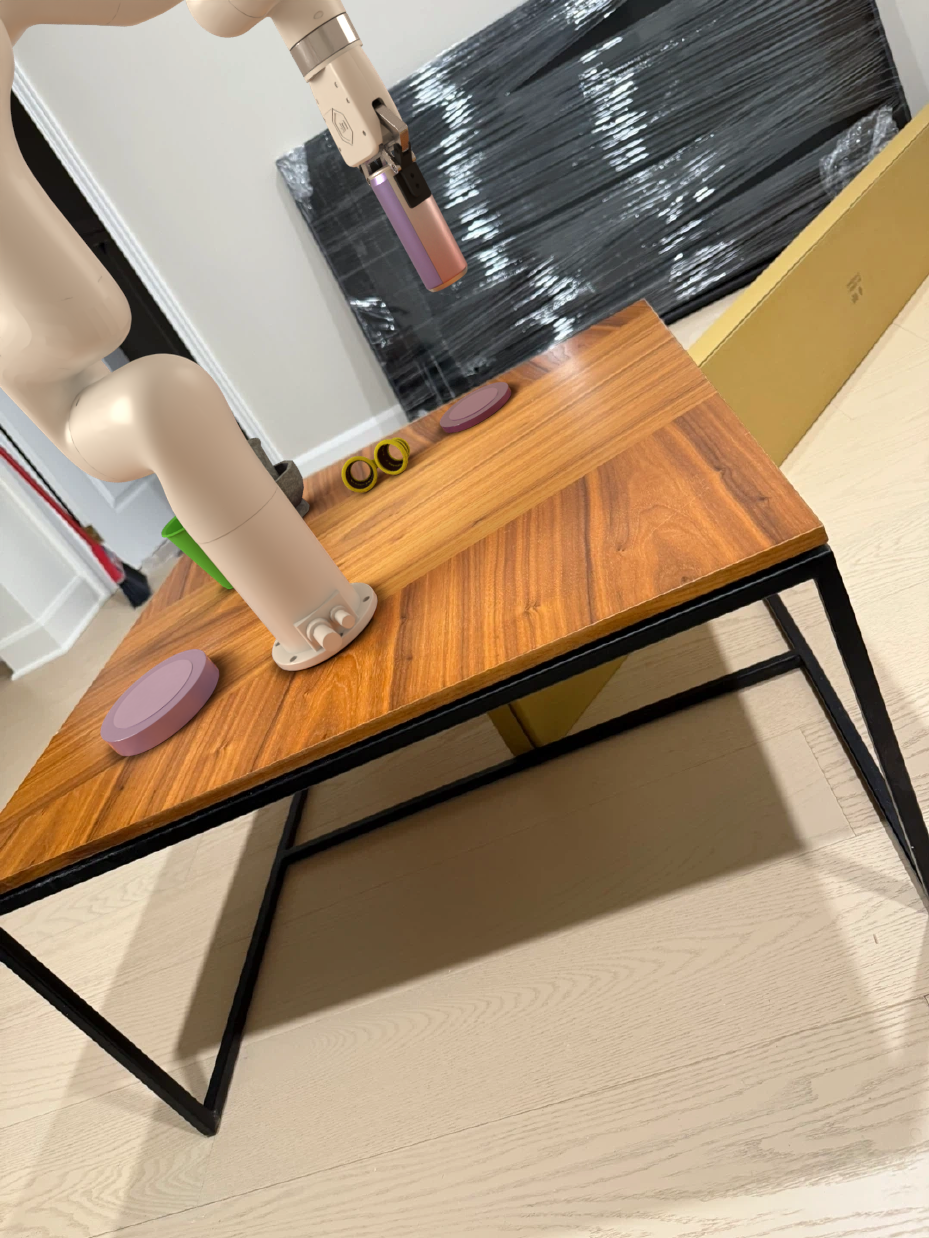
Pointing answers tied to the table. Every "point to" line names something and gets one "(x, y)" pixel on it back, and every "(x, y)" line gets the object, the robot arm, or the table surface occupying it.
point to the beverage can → (421, 233)
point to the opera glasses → (377, 464)
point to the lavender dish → (160, 702)
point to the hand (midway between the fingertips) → (409, 205)
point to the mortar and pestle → (284, 477)
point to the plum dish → (475, 407)
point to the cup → (192, 550)
